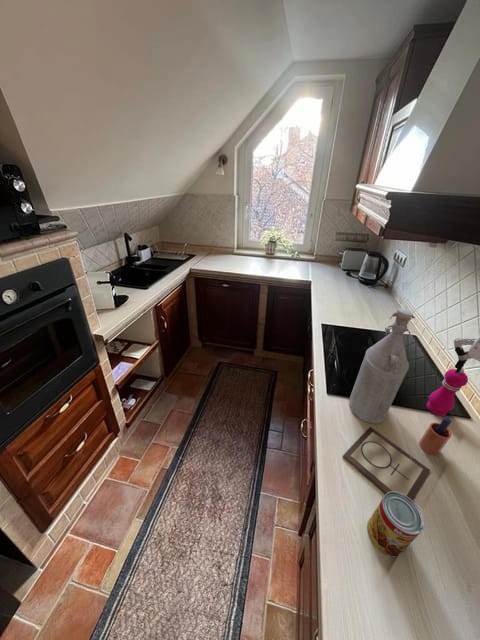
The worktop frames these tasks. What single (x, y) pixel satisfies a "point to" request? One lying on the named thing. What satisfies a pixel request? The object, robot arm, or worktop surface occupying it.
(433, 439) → the pen cup
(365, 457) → the framed female symbol sign
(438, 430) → the marker
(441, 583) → the worktop surface
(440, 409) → the pepper mill
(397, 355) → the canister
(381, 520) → the canned food
